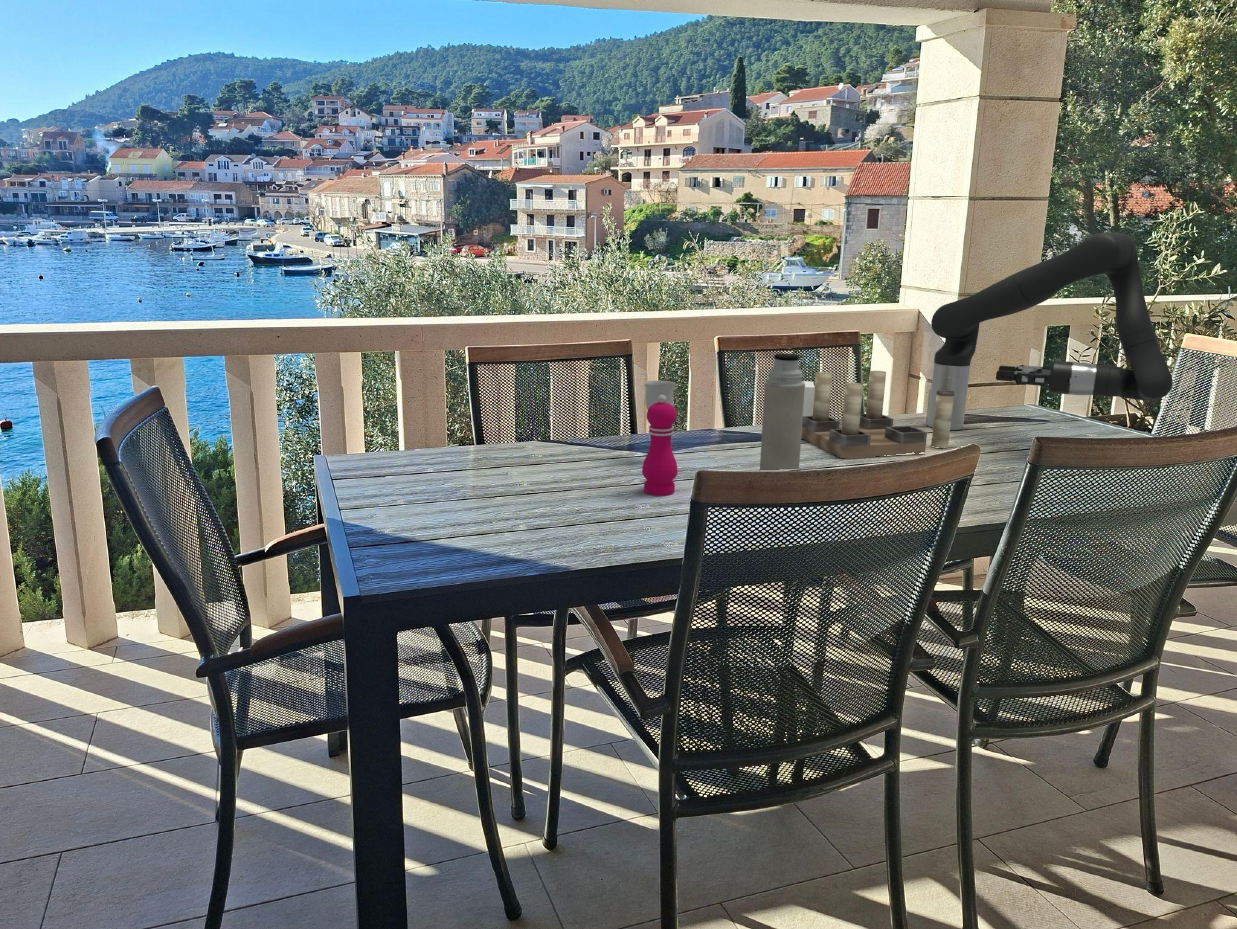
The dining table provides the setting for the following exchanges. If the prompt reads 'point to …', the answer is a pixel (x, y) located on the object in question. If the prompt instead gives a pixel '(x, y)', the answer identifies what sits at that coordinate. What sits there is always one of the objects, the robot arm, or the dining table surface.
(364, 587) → the dining table surface
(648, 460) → the pepper mill
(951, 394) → the loose leg
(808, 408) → the base with upright slab
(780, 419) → the thermos bottle
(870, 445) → the stool seat
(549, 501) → the dining table surface
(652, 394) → the chalice
